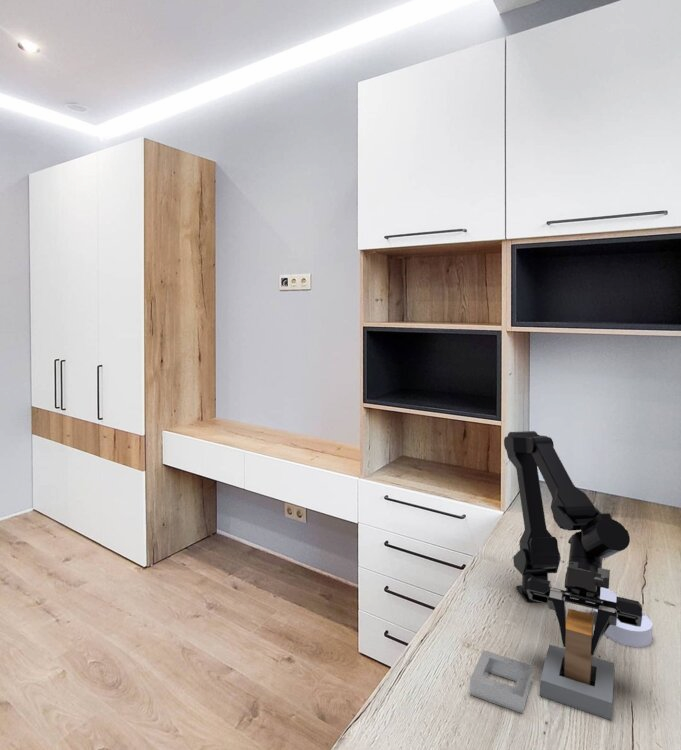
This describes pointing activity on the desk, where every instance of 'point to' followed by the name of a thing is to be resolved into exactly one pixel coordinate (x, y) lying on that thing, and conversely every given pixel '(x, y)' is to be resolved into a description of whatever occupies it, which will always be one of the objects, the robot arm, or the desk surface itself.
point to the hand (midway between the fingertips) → (578, 650)
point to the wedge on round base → (628, 627)
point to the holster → (499, 691)
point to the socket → (578, 684)
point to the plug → (578, 646)
